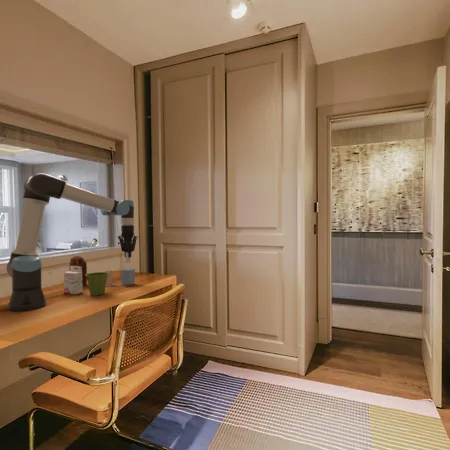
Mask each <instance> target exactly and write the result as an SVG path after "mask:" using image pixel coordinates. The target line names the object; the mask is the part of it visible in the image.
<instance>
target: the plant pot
mask: <svg viewBox="0 0 450 450" xmlns="http://www.w3.org/2000/svg"><path fill="white" fill-rule="evenodd" d="M108 274H109V273H107V272H104V271H103V272H98V271H97V272H90V273H89V272H88V273H87V274H86V275H85V276H86V277H87V285H88V289H89V294H90V295H91V296H92V297H93V296H95V297H96V296H99V295H100V296H102V295H104V294H105V293H106V287H107V286H106V279H107V275H108Z"/></svg>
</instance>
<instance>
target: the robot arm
mask: <svg viewBox="0 0 450 450" xmlns="http://www.w3.org/2000/svg"><path fill="white" fill-rule="evenodd" d="M23 190H24V191H23V197H22V200H23V202H25V205H24V209H23V213H22V217H21V218H22V220H21V222H20V228H19V233H18V235H17V236H18V238H17V240H16V241H17V242H16V247H15V249H13V250H12V251H11V253H10V257H9V261H8V262H7V264H6V272H7V274H8V276H9V277H10V278H11V284H12V285H11V287H12V290H11V291H12V292H11V294H10V295H11V296H10V298H9V301H8V304H7V310H8V311H11V312H25V311H31V310H36V309H39V308H43V307H45V306H46V305H47V300H46V298H45V295H44V292H43V288H42V263H43V262H42V259H41V258H40V257H39V254H38V253H37V251H36V250H37V248H38V247H37V246H38V240H39V236H40V231H41V227H42V221H43V216H44V212H45V207H46V206H47V205H49V204H50V199H51V198H52V199H53V198H54V199H59V200H61V199H63V200H64V199H65V200H68V201H70V202H75V203H78V204H81V205H84V206H87V207H91V208H95V209H98V210H100V213H101V215H102V216H120V217H121V218H120V222H121V223H120V224H121V226H120V227H121V233H120V235H118V236H117V239H118V240H119V244H120V249H121V252H124V258H125V264H130V263H131V258H132V252H134V251H135V249H136V244H137V240H138V238H139V236H138V235H135V225H134V224H135V206H134V204H135V202H134V200H131V199H121V201H119V200H116V199H113V198H110V197H106V196H104V195H102V194H99V193H95V192H91V191H89V190H86V189H84V188H80V187H77V186H75V185H71V184H68V183H67V181H66V180H64V179H60V178H57V177H55V176H53V175H50V174H47V173H36V174H34V175H31V176H30V177H28V178H27V179H26V180H25V181H24V184H23Z"/></svg>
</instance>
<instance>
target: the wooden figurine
mask: <svg viewBox="0 0 450 450" xmlns="http://www.w3.org/2000/svg"><path fill="white" fill-rule="evenodd" d="M70 266H80V267H82V287H83V286H86V285H88V280H87V277H86V276H85V275H86V274H88V272H87V271H88V267H87V262H86V261H85V259H84V258H83V257H82V256H80V255H79V256H78V255H75V256H72V257H71V258H70V260H69V268H68V269H69V270H68V271H70ZM74 269H78V268H74Z"/></svg>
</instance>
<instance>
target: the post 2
mask: <svg viewBox="0 0 450 450" xmlns="http://www.w3.org/2000/svg"><path fill="white" fill-rule="evenodd" d="M133 284H134V285H135V284H136V282H135V283H132V284H121V286H122V287H132V286H134V285H133Z"/></svg>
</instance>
